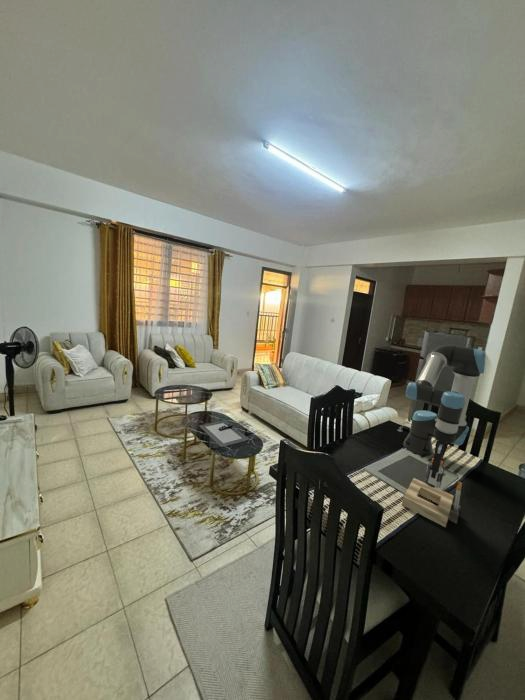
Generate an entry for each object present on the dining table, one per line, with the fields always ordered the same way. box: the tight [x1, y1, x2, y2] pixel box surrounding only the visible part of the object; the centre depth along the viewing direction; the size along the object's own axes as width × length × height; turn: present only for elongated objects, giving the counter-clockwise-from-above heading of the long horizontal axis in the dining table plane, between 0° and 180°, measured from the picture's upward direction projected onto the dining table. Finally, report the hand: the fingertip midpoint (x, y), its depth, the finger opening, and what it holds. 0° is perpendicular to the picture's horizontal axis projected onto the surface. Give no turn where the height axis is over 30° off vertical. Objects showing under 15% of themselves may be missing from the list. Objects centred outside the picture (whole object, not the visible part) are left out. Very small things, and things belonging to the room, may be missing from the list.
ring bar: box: [453, 480, 463, 513], centre depth 113 cm, size 4×1×14 cm, turn 140°
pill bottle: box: [423, 457, 445, 489], centre depth 117 cm, size 6×6×11 cm
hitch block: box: [401, 477, 461, 528], centre depth 119 cm, size 18×19×4 cm
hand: (433, 480), depth 118 cm, fingers closed on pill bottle, 6 cm apart
